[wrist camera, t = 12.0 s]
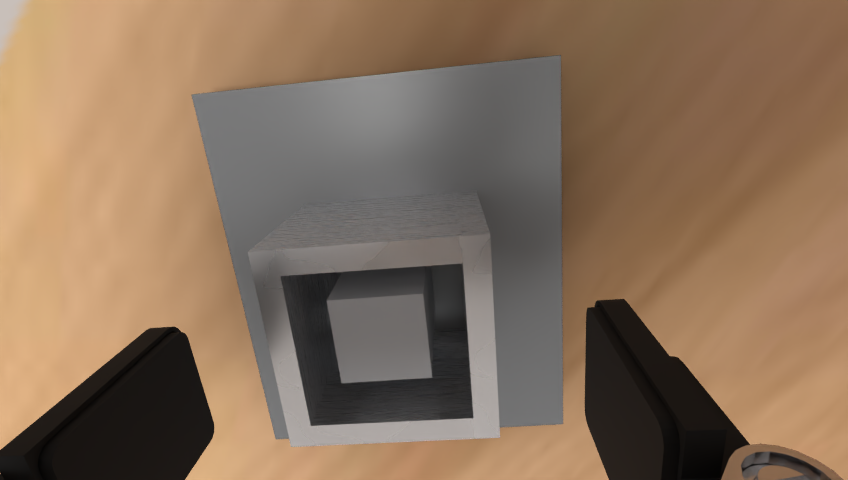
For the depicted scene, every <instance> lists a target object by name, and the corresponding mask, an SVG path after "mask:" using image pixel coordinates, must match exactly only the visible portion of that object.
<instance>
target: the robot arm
mask: <svg viewBox="0 0 848 480" xmlns="http://www.w3.org/2000/svg"><path fill="white" fill-rule="evenodd" d="M585 415H586V420H587V424H588V427H589V430H590V432H591V435H592V437H593V440H594V442H595V445H596V447H597V450H598V453H599V455H600V458H601V460H602V463H603V465H604V468H605V470H606V473H607V475H608V478H609V480H843V479H842V478H841V477H840V476H839V475H838V474H837V473H836V472H834V471H833V470H832V469H830V468H828V467H827V466H825V465H824V464H822V463H821V462H819V461H818V460H816V459H814V458H811V457H809V456H807V455H805V454H803V453H800V452H798V451H795V450H792V449H788V448H785V447H781V446H776V445H767V444H754V445H750V444H749V443H748V442H747V440H746V439H745V438H744V437H743V435H742V434H741V433H740V432H739V430H738V429H737V428H736V427H735V426H734V424H733V423H732V422H731V421H730V419H729V418H728V417H727V416H726V415H725V413H724V412H723V411H722V410H721V408H720V407H719V406H718V405H717V404H716V402H715V401H714V400H713V399H712V397H711V396H710V395H709V394H708V393H707V391H706V390H705V389H704V388H703V386H702V385H701V384H700V383H699V382H698V380H697V379H696V378H695V377H694V375H693V374H692V373H691V372H690V371H689V369H688V368H687V367H686V366H685V364H684V363H683V362H682V361H681V360H680V359H679V358H678V357H674V356H669V355H668V354H667V352H666V351H665V350H664V349H663V347H662V346H661V345H660V343H659V342H658V341H657V340H656V338H655V337H654V336H653V335H652V333H651V332H650V331H649V330H648V328H647V327H646V326H645V324H644V323H643V322H642V321H641V319H640V318H639V317H638V316H637V314H636V313H635V312H634V310H633V309H632V308H631V307H630V305H629V304H628V303H627V302H626V301H625V300H624V299H615V300H599V301H596V303H595V307H591V308H588V309H587V314H586V367H585ZM213 434H214V422H213V419H212V416H211V412H210V409H209V406H208V403H207V399H206V396H205V393H204V389H203V386H202V383H201V380H200V376H199V373H198V370H197V366H196V363H195V360H194V357H193V353H192V350H191V347H190V344H189V340H188V338H187V335H186V334H185V333H183V332H181V331H180V330H179V329H178V328H176V327H163V328H150V329H148V330H146V331H145V332H144V333H142V334H141V335H140V336H139V337H138V338H136V339H135V340H134V341H133V342H131V343H130V344H129V345H128V346H127V347H125V348H124V349H123V350H122V351H121V352H119V353H118V354H117V355H116V356H114V357H113V358H112V359H111V360H110V361H108V362H107V363H106V364H105V365H103V366H102V367H101V368H100V369H99V370H97V371H96V372H95V373H94V374H92V375H91V376H90V377H89V378H88V379H86V380H85V381H84V382H83V383H82V384H80V385H79V386H78V387H77V388H75V389H74V390H73V391H72V392H71V393H69V394H68V395H67V396H66V397H64V398H63V399H62V400H61V401H60V402H58V403H57V404H56V405H55V406H53V407H52V408H51V409H50V410H49V411H47V412H46V413H45V414H44V415H42V416H41V417H40V418H39V419H38V420H36V421H35V422H34V423H33V424H32V425H30V426H29V427H28V428H27V429H25V430H24V431H23V432H22V433H21V434H19V435H18V436H17V437H16V438H14V439H13V440H12V441H11V442H10V443H8V444H7V445H6V446H5V447H3V448H2V449H1V450H0V473H1V474H0V480H185V479H186V477H187V476H188V474H189V473H190V471H191V470H192V468H193V467H194V465H195V464H196V462H197V461H198V459H199V458H200V456H201V455H202V453H203V452H204V450H205V449H206V447H207V446H208V444H209V443H210V441H211V439H212V437H213Z"/></svg>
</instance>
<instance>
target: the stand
mask: <svg viewBox="0 0 848 480" xmlns="http://www.w3.org/2000/svg"><path fill="white" fill-rule="evenodd" d="M192 99H193V103H194V107H195V111H196V115H197V119H198V123H199V127H200V131H201V135H202V139H203V144H204V148H205V152H206V156H207V160H208V164H209V168H210V172H211V176H212V180H213V184H214V189H215V193H216V197H217V201H218V205H219V209H220V213H221V217H222V221H223V225H224V229H225V234H226V238H227V242H228V246H229V250H230V254H231V258H232V262H233V266H234V270H235V274H236V279H237V283H238V287H239V291H240V295H241V299H242V303H243V307H244V311H245V315H246V319H247V323H248V328H249V332H250V336H251V340H252V344H253V348H254V352H255V356H256V360H257V364H258V368H259V373H260V377H261V381H262V385H263V389H264V393H265V397H266V401H267V405H268V409H269V413H270V418H271V422H272V426H273V430H274V434H275V438H276V439H289V435H288V431H287V426H286V422H285V417H284V413H283V408H282V404H281V400H280V395H279V391H278V386H277V382H276V377H275V373H274V368H273V364H272V359H271V355H270V350H269V346H268V341H267V337H266V332H265V328H264V323H263V319H262V314H261V310H260V306H259V301H258V297H257V292H256V288H255V283H254V279H253V274H252V270H251V265H250V261H249V256H248V251H249V250H251V249H252V248H253V247H254V246H255V245H257V244H258V243H259V242H260V241H261V240H263V239H264V238H265V237H266V236H267V235H269V234H270V233H271V232H272V231H273V230H275V229H276V228H277V227H278V226H279V225H281V224H282V223H283V222H284V221H285V220H287V219H288V218H289V217H290V216H291V215H293V214H294V213H295V212H296V211H297V210H299V209H300V208H301V207H302V206H303V205H304V204H311V203H323V202H336V201H348V200H360V199H373V198H385V197H398V196H410V195H423V194H435V193H447V192H460V191H472V190H476V192H477V195H478V198H479V201H480V204H481V207H482V210H483V213H484V216H485V220H486V223H487V226H488V229H489V232H490V240H491V261H492V282H493V302H494V323H495V344H496V365H497V385H498V406H499V427H517V426H536V425H555V424H563V337H562V163H561V55H556V56H547V57H538V58H528V59H519V60H510V61H500V62H491V63H482V64H472V65H463V66H454V67H444V68H435V69H426V70H416V71H407V72H398V73H388V74H379V75H370V76H360V77H351V78H342V79H332V80H323V81H314V82H304V83H295V84H286V85H277V86H267V87H258V88H249V89H239V90H230V91H221V92H211V93H202V94H193V95H192ZM336 276H337V283H336V285H335V286H334V288H333V290H332V292H331V294H330V296H329V297H328V299H327V306H328V311H329V317H330V322H331V328H332V333H333V339H334V344H335V350H336V355H337V361H338V366H339V372H340V377H341V383H354V382H370V381H387V380H403V379H420V378H432V371H433V345H434V330H446V329H463V328H465V317H464V303H463V289H462V275H461V264H446V265H432V266H418V267H404V268H389V269H375V270H361V271H347V272H336Z"/></svg>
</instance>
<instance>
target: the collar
mask: <svg viewBox="0 0 848 480" xmlns="http://www.w3.org/2000/svg"><path fill="white" fill-rule="evenodd" d="M248 256H249V261H250V265H251V270H252V274H253V279H254V283H255V288H256V292H257V297H258V301H259V306H260V310H261V314H262V319H263V323H264V328H265V332H266V337H267V341H268V346H269V350H270V355H271V359H272V364H273V368H274V373H275V377H276V382H277V386H278V391H279V395H280V400H281V404H282V408H283V413H284V417H285V422H286V426H287V431H288V435H289V440H290V444H291V447H301V446H324V445H346V444H368V443H391V442H413V441H435V440H458V439H480V438H500V427H499V406H498V385H497V365H496V344H495V323H494V302H493V282H492V261H491V240H490V232H489V229H488V226H487V223H486V220H485V216H484V213H483V210H482V207H481V204H480V201H479V198H478V195H477V192H476V190H472V191H460V192H447V193H435V194H423V195H410V196H398V197H385V198H373V199H360V200H348V201H336V202H323V203H311V204H304V205H303V206H302V207H301V208H300V209H299V210H297V211H296V212H295V213H294V214H293V215H291V216H290V217H289V218H288V219H287V220H285V221H284V222H283V223H282V224H281V225H279V226H278V227H277V228H276V229H275V230H273V231H272V232H271V233H270V234H269V235H267V236H266V237H265V238H264V239H263V240H261V241H260V242H259V243H258V244H257V245H255V246H254V247H253V248H252V249H251V250H249V251H248ZM446 264H461V275H462V289H463V303H464V317H465V328H463V329H446V330H434V345H433V371H432V378H420V379H403V380H387V381H370V382H354V383H341V377H340V372H339V366H338V361H337V355H336V350H335V344H334V339H333V333H332V328H331V322H330V317H329V311H328V306H327V299H328V297H329V296H330V294H331V292H332V290H333V288H334V286H335V285H336V283H337V276H336V272H347V271H361V270H375V269H389V268H404V267H418V266H432V265H446Z"/></svg>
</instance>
